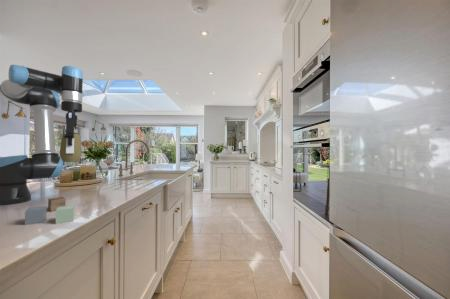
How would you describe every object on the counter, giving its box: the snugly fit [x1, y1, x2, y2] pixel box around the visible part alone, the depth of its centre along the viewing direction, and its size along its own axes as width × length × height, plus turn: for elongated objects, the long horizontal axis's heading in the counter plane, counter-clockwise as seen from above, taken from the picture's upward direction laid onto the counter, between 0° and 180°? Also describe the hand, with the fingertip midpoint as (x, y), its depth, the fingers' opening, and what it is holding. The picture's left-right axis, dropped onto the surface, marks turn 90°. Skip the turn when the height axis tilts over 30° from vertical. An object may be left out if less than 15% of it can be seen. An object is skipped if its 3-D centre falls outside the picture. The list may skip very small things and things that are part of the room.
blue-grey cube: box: [24, 205, 47, 226], centre depth 76 cm, size 5×5×5 cm
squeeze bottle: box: [58, 127, 83, 163], centre depth 92 cm, size 8×8×18 cm
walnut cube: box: [47, 196, 66, 213], centre depth 92 cm, size 5×5×5 cm
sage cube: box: [55, 204, 75, 225], centre depth 78 cm, size 5×5×5 cm
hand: (71, 153), depth 92 cm, fingers closed on squeeze bottle, 8 cm apart
